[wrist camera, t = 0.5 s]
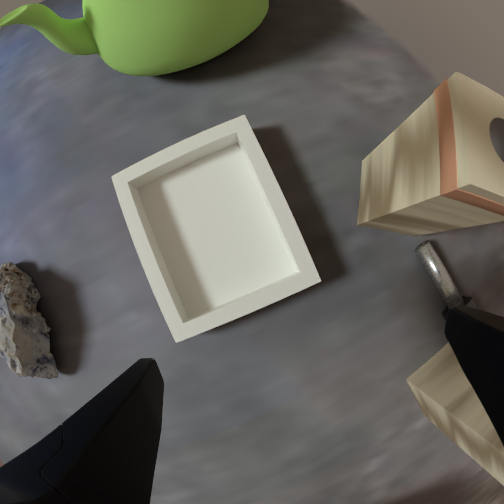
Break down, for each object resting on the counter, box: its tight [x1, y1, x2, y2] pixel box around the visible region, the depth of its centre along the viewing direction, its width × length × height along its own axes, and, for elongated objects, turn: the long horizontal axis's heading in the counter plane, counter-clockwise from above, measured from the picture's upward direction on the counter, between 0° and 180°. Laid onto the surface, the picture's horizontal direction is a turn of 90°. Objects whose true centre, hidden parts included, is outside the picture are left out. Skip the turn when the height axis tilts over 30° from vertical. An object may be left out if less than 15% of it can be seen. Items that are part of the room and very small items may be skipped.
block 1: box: [357, 72, 504, 236], centre depth 15 cm, size 5×5×13 cm
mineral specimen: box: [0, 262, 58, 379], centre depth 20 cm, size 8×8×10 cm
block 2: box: [406, 342, 504, 486], centre depth 14 cm, size 5×5×13 cm
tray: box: [112, 115, 321, 343], centre depth 20 cm, size 12×10×2 cm
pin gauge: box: [415, 240, 479, 320], centre depth 20 cm, size 10×2×2 cm, turn 39°
